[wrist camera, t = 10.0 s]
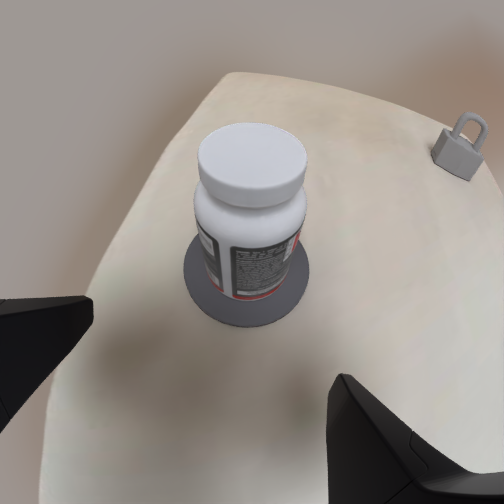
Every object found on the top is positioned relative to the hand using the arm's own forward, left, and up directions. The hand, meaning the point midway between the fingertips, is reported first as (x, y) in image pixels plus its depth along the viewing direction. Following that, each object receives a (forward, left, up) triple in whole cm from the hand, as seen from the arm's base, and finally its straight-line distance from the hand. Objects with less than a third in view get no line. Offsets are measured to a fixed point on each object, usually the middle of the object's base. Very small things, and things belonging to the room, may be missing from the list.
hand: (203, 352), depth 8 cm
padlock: (+38, -11, -9) cm, 41 cm away
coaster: (+7, +3, -9) cm, 12 cm away
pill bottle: (+7, +3, -8) cm, 11 cm away
